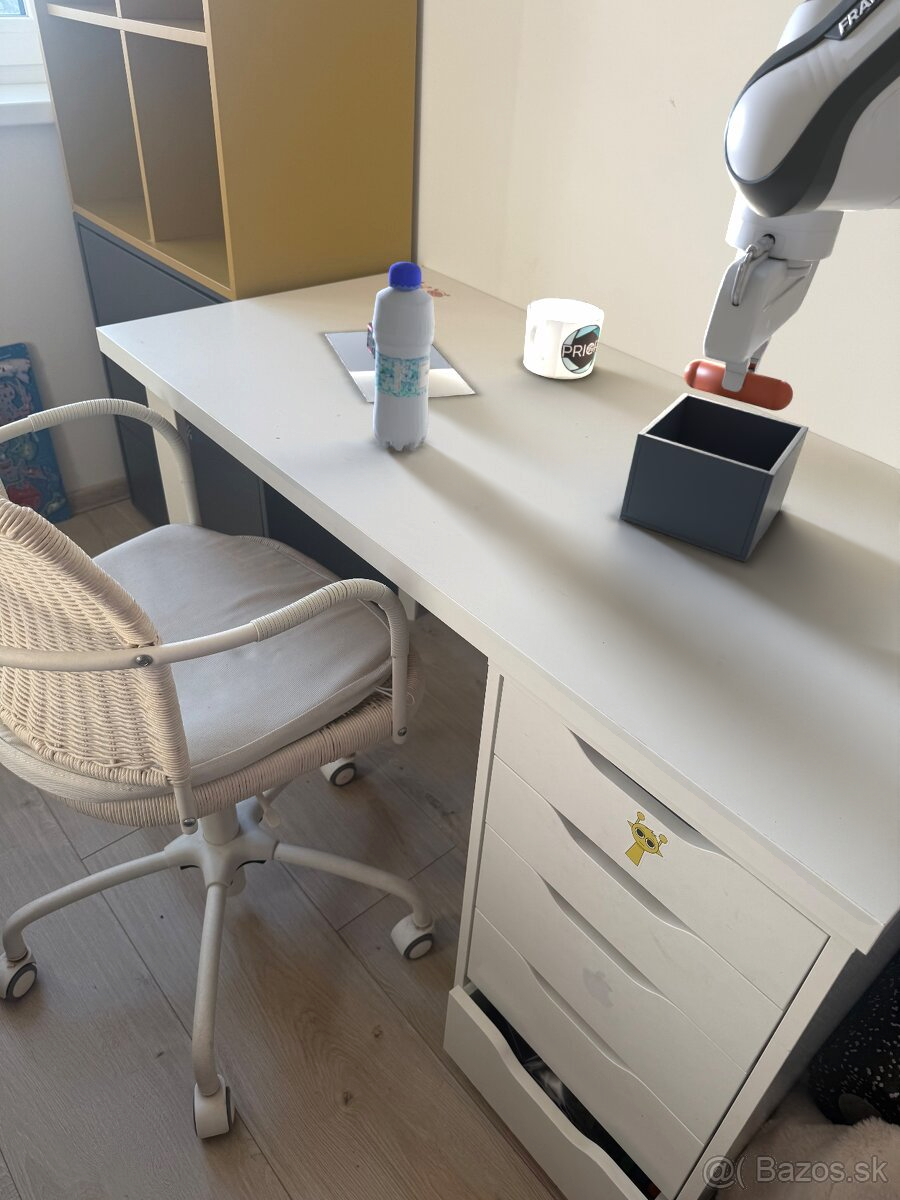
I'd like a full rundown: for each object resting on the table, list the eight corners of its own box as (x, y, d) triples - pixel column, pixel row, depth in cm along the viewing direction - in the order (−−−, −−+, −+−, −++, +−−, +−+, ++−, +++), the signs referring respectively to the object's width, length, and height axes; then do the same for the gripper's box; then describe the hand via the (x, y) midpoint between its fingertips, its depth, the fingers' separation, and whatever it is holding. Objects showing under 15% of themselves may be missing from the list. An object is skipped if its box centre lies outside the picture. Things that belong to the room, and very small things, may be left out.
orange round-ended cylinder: (790, 408, 79) (800, 380, 77) (783, 418, 77) (792, 389, 75) (686, 379, 83) (693, 352, 81) (676, 388, 81) (683, 360, 79)
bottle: (427, 457, 93) (437, 274, 81) (368, 453, 93) (369, 269, 81) (430, 431, 99) (439, 256, 87) (373, 427, 99) (375, 251, 87)
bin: (780, 508, 89) (809, 427, 84) (744, 562, 80) (774, 475, 74) (664, 471, 94) (684, 392, 89) (619, 518, 85) (637, 433, 80)
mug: (548, 347, 125) (556, 292, 120) (608, 368, 119) (618, 311, 115) (493, 369, 116) (499, 311, 111) (555, 392, 111) (564, 332, 106)
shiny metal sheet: (368, 402, 104) (368, 369, 102) (324, 334, 123) (324, 305, 120) (475, 393, 109) (478, 362, 106) (417, 329, 127) (419, 301, 125)
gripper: (789, 256, 62) (738, 427, 70) (846, 215, 76) (798, 361, 84) (708, 240, 64) (668, 407, 73) (777, 202, 79) (737, 345, 87)
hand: (738, 381), depth 79 cm, fingers closed on orange round-ended cylinder, 3 cm apart
